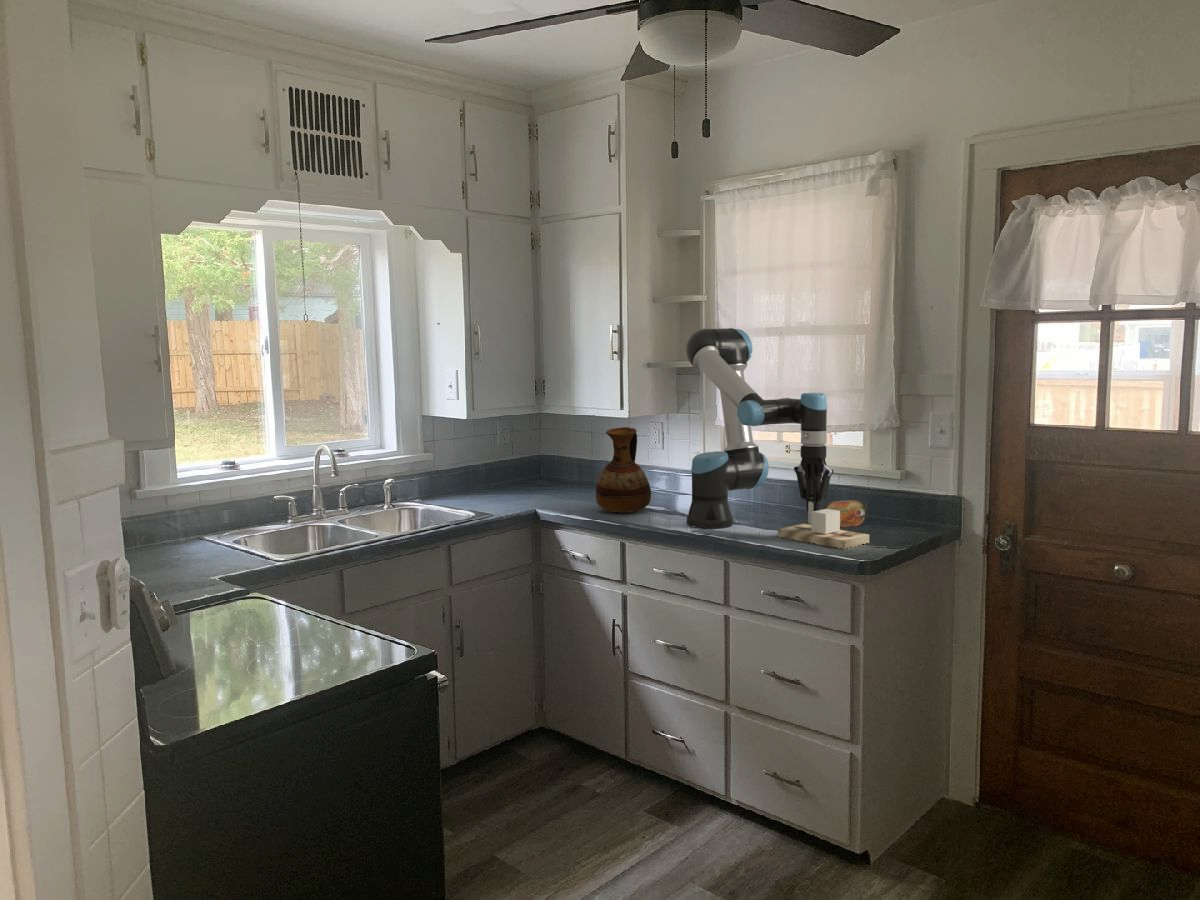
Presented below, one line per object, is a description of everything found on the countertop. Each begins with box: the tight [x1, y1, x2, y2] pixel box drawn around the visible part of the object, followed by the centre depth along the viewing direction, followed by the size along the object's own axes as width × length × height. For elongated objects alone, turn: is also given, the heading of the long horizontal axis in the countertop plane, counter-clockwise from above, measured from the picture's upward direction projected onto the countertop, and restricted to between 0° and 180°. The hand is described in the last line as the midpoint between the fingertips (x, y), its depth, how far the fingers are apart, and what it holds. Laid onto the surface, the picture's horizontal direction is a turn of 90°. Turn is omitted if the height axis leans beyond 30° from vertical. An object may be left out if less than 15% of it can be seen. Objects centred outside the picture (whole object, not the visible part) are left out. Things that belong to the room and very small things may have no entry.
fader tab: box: [811, 508, 841, 534], centre depth 274 cm, size 5×7×6 cm
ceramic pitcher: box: [595, 426, 652, 514], centre depth 328 cm, size 20×20×30 cm
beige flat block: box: [777, 523, 870, 550], centre depth 275 cm, size 24×12×3 cm, turn 40°
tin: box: [822, 499, 867, 528], centre depth 295 cm, size 15×3×8 cm, turn 106°
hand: (813, 522), depth 277 cm, fingers closed
